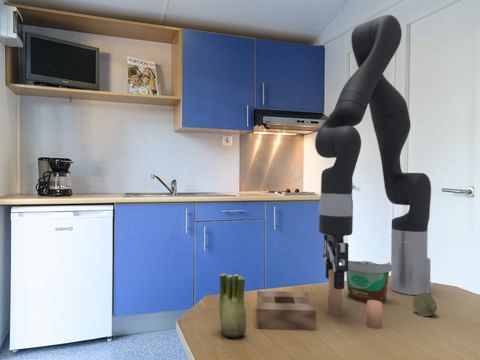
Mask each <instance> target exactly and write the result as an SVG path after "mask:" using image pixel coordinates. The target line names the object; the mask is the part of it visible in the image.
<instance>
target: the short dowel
mask: <svg viewBox="0 0 480 360" xmlns="http://www.w3.org/2000/svg"><path fill="white" fill-rule="evenodd" d="M366 326H367V327H369V328H371V329H381V328H382V327H383V302H380V301H377V300H368V301H367V303H366Z"/></svg>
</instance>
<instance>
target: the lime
mask: <svg viewBox="0 0 480 360" xmlns="http://www.w3.org/2000/svg"><path fill="white" fill-rule="evenodd" d="M412 305H413V306H412V307H413V309H414V310H415V312H416V314H418V315H419V316H421V317H429V316H430V317H431V316H433V315H435V314H436V311H437V310H438V303H437V300H436V299H435V298H434V297H433V295H431V293H430V294H427V293H420V294H418V295H415V297H414V298H413V300H412Z"/></svg>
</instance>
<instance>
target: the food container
mask: <svg viewBox="0 0 480 360" xmlns="http://www.w3.org/2000/svg"><path fill="white" fill-rule="evenodd" d="M348 268H349V269H348V271H346V272H345V273H346V285H347V295H348V297H349V298H350V299H351V300H353V301H356V302H360V303H364V304H365V303H366V304H367V301H368V300H377V301H380V302H382V303H383V302H385V301H386V300H387V298H386V297H387V292H388V291H387V290H388V284H389V283H388V282H389V276H390V273H391V271H392V267H391V261H389V262H387V263H375V262H372V261H366V260H365V261H364V260H363V261H355V260H349V259H348Z"/></svg>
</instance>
